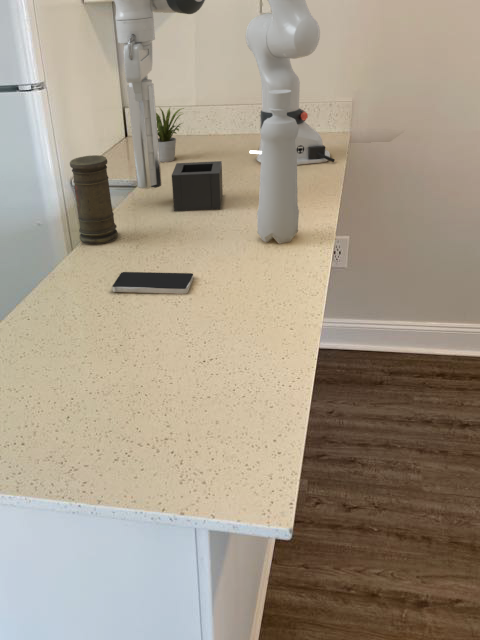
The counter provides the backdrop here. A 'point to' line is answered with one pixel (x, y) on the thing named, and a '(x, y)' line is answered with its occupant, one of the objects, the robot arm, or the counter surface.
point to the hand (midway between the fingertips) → (141, 97)
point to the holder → (197, 186)
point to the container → (93, 200)
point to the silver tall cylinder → (145, 136)
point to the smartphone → (153, 282)
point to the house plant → (166, 136)
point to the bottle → (278, 172)
